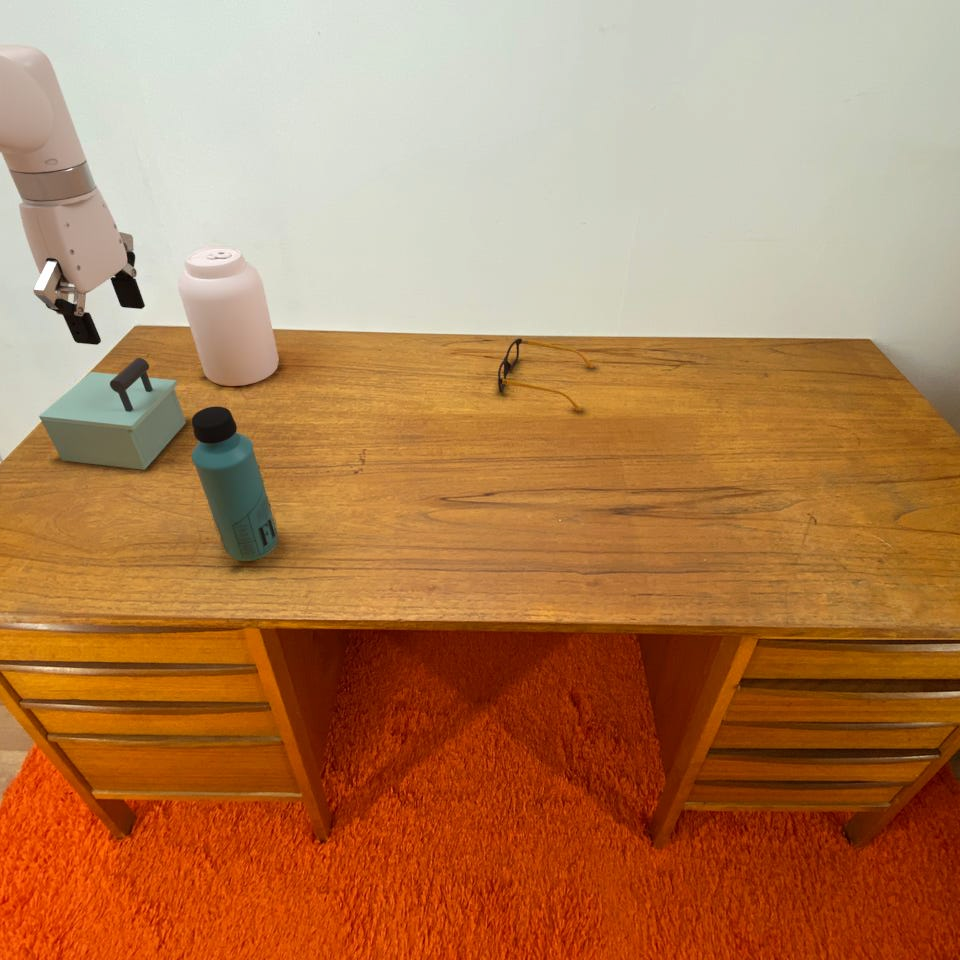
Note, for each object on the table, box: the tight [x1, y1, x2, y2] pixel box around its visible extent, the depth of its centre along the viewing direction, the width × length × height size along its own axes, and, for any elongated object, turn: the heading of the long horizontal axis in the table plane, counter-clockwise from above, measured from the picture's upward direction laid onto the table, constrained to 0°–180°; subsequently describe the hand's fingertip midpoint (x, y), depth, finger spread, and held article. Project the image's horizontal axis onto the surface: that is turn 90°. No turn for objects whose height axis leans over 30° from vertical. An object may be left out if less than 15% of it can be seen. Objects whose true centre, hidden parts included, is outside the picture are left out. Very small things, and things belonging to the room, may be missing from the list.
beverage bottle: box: [191, 405, 279, 562], centre depth 71 cm, size 6×7×20 cm
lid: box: [38, 357, 179, 430], centre depth 88 cm, size 13×12×6 cm
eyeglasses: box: [497, 338, 594, 412], centre depth 107 cm, size 14×14×4 cm
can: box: [178, 245, 280, 387], centre depth 104 cm, size 12×12×20 cm
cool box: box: [41, 388, 187, 471], centre depth 92 cm, size 13×12×7 cm
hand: (112, 324), depth 81 cm, fingers open, 9 cm apart
